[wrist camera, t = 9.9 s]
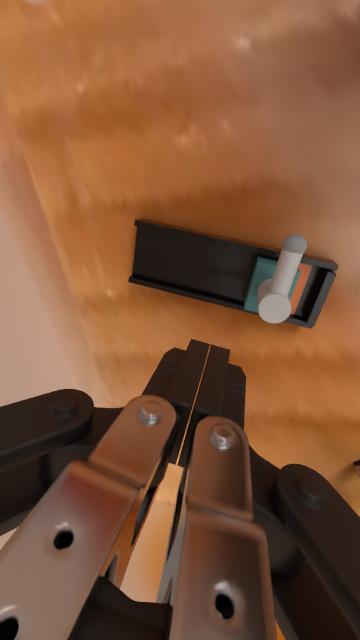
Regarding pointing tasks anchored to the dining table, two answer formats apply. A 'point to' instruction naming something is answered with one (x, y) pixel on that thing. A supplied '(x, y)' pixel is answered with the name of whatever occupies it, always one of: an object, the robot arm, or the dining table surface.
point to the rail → (221, 269)
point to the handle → (276, 281)
